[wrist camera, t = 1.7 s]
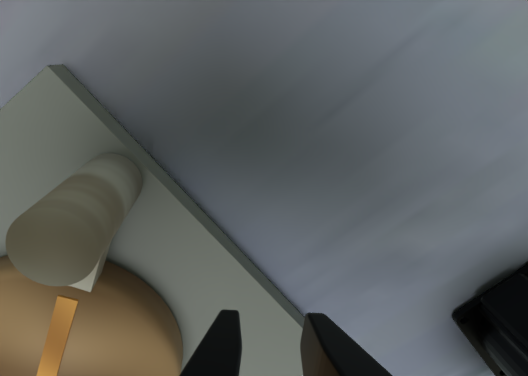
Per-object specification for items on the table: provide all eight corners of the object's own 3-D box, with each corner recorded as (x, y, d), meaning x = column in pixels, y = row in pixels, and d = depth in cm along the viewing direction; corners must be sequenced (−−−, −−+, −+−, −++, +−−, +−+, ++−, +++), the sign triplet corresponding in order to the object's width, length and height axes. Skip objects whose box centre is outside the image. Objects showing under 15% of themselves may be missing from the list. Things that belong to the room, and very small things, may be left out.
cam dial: (146, 455, 22) (118, 596, 17) (-79, 414, 20) (-206, 563, 14) (252, 197, 17) (264, 270, 12) (-31, 102, 15) (-193, 134, 9)
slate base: (323, 337, 23) (330, 357, 21) (86, 500, 26) (77, 527, 24) (44, 45, 16) (25, 44, 15) (-234, 308, 19) (-273, 330, 18)
